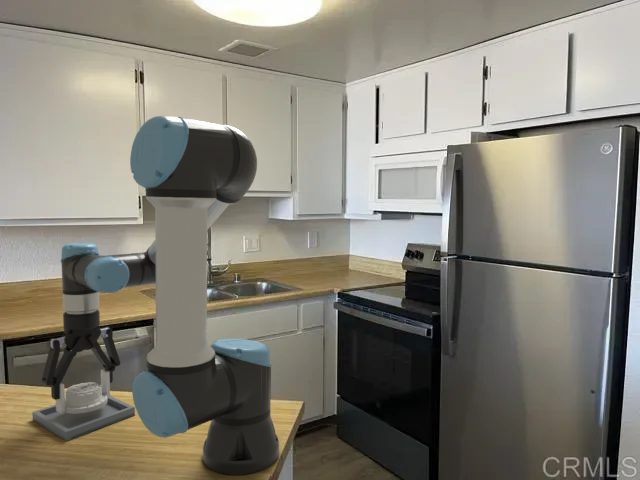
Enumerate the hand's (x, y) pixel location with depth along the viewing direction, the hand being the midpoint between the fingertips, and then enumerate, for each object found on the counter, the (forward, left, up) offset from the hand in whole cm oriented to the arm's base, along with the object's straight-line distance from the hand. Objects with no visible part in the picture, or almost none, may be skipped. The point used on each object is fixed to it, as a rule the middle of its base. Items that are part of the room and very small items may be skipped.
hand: (83, 404), depth 113 cm
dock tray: (0, 0, -3) cm, 3 cm away
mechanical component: (0, 0, -1) cm, 1 cm away
